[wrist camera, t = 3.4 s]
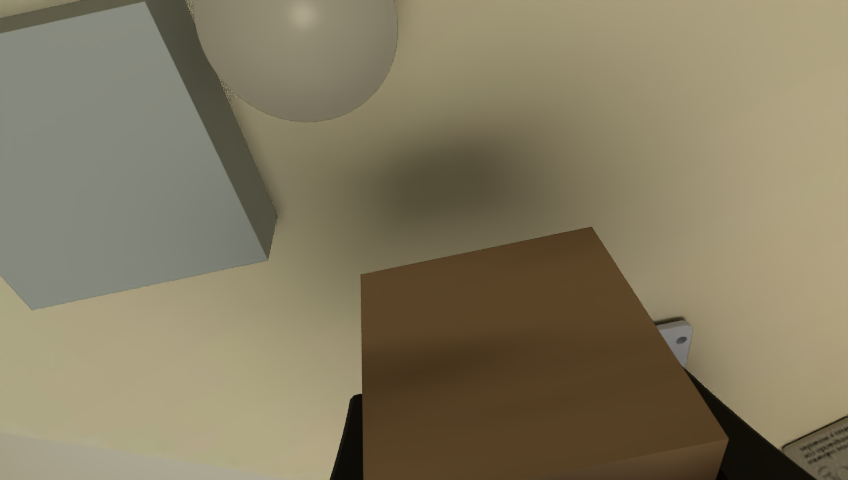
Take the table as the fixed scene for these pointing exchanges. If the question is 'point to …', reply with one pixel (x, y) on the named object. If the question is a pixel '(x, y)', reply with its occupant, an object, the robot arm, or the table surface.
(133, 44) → the slate plinth
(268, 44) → the grey rounded lump
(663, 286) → the table surface
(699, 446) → the walnut cube
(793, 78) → the table surface
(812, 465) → the product box
